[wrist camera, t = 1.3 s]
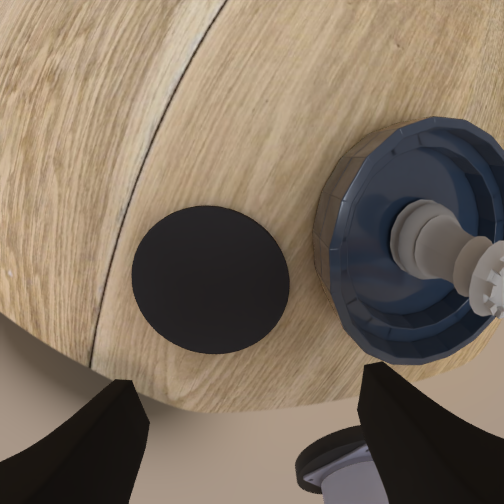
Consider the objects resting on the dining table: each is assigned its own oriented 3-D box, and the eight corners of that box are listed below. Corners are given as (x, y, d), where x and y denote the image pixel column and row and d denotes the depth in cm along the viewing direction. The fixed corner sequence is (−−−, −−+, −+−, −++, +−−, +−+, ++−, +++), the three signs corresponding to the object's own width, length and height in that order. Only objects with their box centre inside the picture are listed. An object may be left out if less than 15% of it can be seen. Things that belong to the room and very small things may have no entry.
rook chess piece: (377, 265, 16) (453, 340, 9) (396, 189, 15) (496, 218, 7) (435, 276, 17) (515, 339, 9) (454, 207, 15) (550, 243, 8)
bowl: (506, 242, 16) (542, 258, 12) (385, 362, 19) (406, 398, 15) (423, 83, 14) (462, 70, 10) (262, 225, 16) (265, 246, 12)
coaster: (320, 289, 17) (321, 291, 17) (211, 372, 19) (210, 376, 18) (209, 169, 15) (208, 170, 15) (106, 279, 17) (103, 281, 17)
